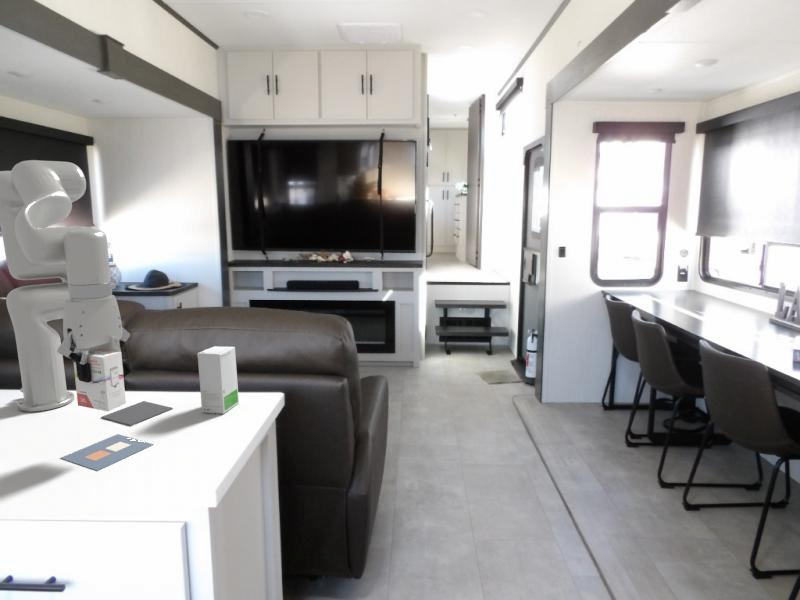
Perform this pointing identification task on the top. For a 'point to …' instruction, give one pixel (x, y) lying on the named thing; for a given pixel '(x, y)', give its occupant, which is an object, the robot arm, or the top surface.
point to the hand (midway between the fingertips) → (99, 376)
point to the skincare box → (218, 379)
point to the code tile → (106, 452)
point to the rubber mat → (137, 413)
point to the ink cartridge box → (103, 378)
